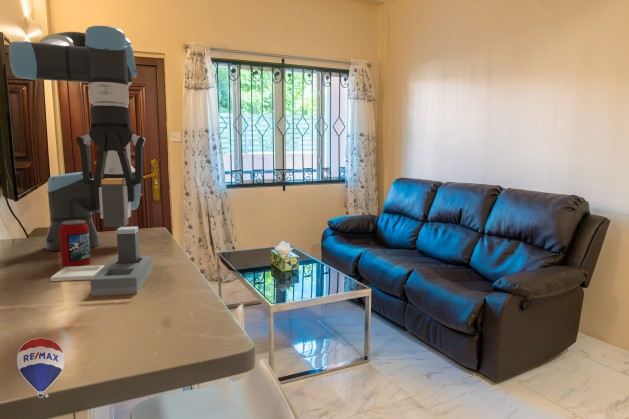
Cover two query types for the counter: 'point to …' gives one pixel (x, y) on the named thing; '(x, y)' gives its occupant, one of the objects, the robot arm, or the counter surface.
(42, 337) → the counter surface
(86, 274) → the tray
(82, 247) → the beverage can
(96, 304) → the counter surface
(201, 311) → the counter surface
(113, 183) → the plug
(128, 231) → the twin plug
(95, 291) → the grey socket block
